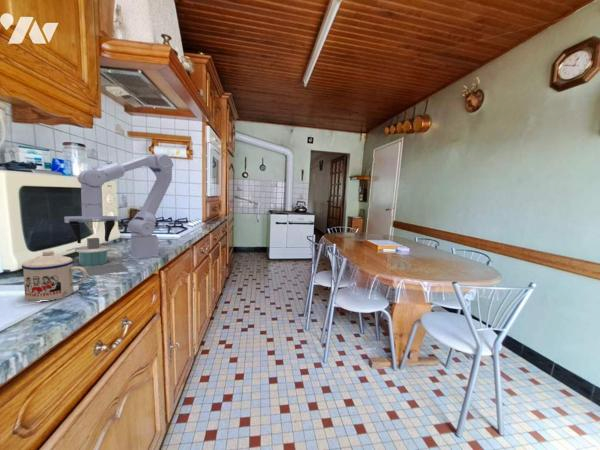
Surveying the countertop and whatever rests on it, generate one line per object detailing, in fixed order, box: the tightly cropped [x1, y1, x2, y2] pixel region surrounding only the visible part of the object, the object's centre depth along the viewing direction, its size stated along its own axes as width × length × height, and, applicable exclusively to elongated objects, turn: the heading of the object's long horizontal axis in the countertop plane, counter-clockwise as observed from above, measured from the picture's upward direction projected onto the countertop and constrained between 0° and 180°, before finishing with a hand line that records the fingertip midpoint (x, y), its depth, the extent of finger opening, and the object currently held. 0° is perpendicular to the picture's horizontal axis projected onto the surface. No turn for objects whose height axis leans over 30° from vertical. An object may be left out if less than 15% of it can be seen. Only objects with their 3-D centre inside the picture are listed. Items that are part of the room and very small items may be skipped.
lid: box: [74, 237, 112, 254], centre depth 90 cm, size 10×10×4 cm
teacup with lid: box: [21, 249, 88, 302], centre depth 63 cm, size 12×9×12 cm
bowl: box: [78, 251, 108, 267], centre depth 90 cm, size 8×8×5 cm
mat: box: [84, 263, 130, 277], centre depth 85 cm, size 10×10×1 cm
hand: (93, 241), depth 90 cm, fingers open, 7 cm apart
